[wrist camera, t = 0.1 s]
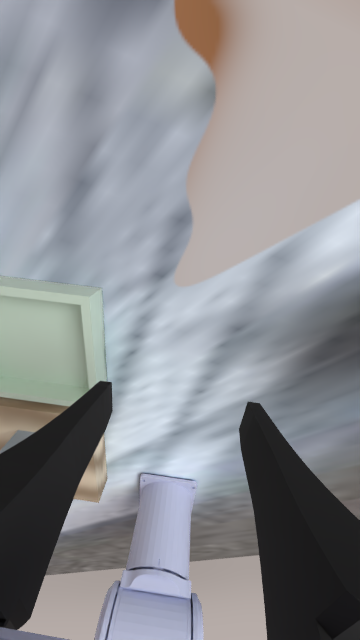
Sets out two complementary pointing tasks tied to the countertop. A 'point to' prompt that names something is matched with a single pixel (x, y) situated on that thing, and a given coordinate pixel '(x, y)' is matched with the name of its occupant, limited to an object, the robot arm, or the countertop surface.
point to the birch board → (13, 414)
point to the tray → (50, 340)
